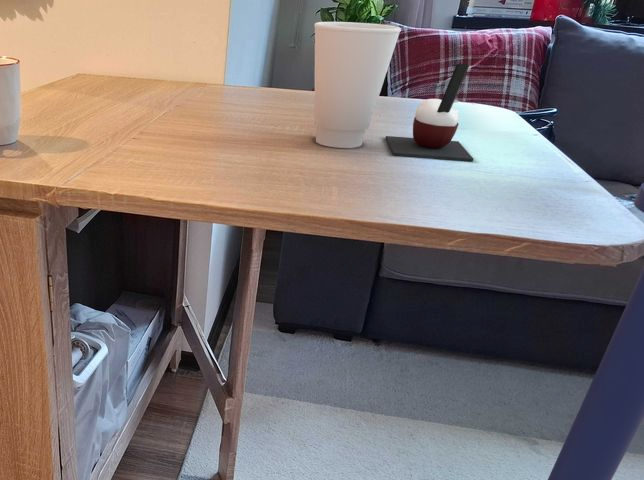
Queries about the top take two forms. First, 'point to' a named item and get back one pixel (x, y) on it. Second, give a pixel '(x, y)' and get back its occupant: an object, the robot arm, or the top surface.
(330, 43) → the cup
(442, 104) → the cocoa
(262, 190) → the top surface
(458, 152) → the coaster
